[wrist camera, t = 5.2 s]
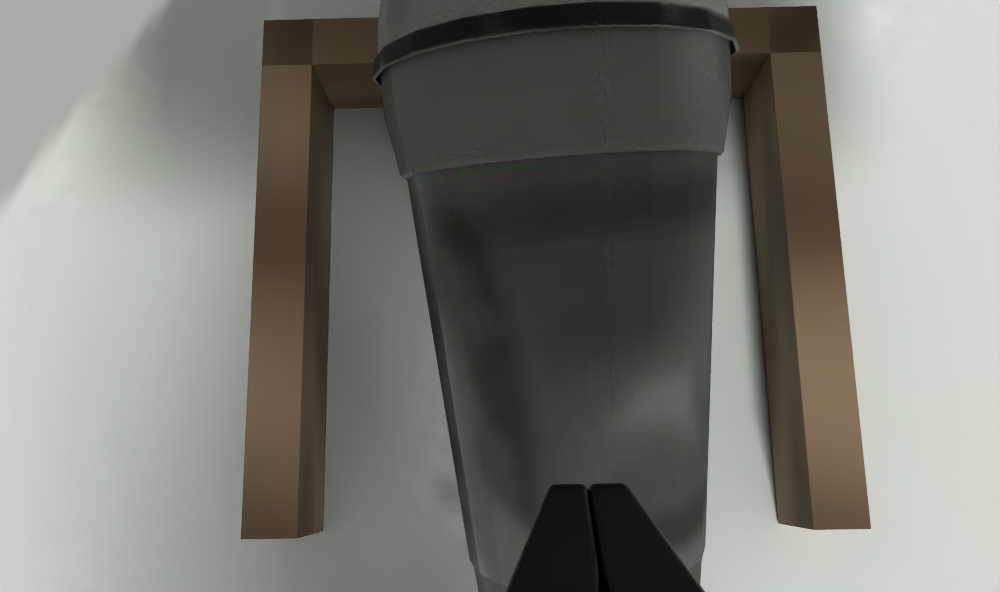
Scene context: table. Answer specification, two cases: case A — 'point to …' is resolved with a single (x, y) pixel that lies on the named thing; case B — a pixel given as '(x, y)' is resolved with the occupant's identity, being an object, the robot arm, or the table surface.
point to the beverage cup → (565, 246)
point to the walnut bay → (778, 240)
